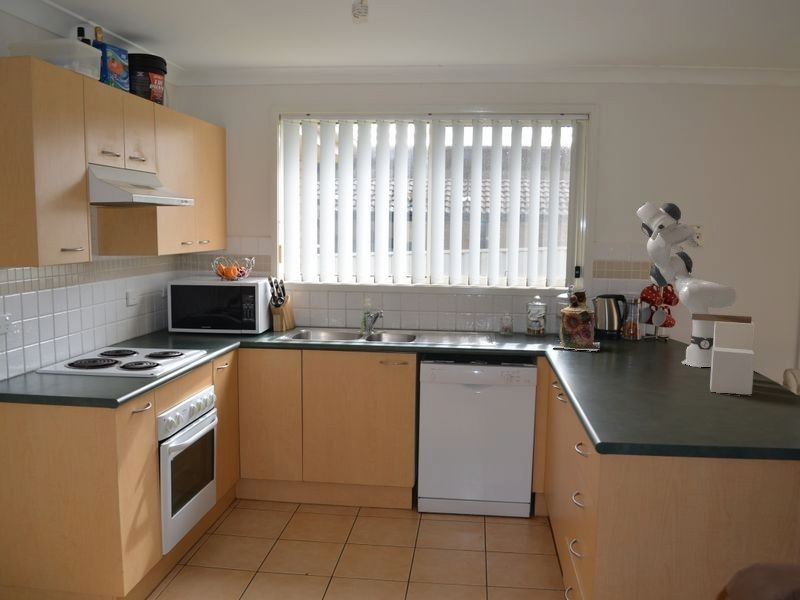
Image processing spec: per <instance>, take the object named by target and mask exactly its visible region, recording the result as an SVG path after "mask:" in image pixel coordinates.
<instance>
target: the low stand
mask: <svg viewBox="0 0 800 600" xmlns="http://www.w3.org/2000/svg"><path fill="white" fill-rule="evenodd" d="M755 355H756V354H755V352H754V350H753V351H752V350H745V349H732V348H719V347H713V348H712V363H711V368H710V379H709V380H710V382H709V389H710V393H711V392H716V393H715V394H720V393H736V394H753V383H754V370H755V367H754V366H755Z"/></svg>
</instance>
